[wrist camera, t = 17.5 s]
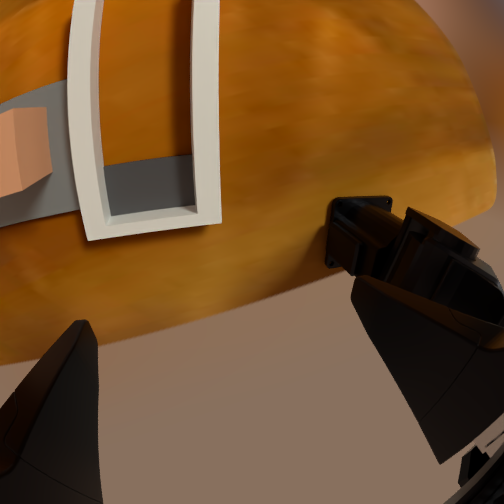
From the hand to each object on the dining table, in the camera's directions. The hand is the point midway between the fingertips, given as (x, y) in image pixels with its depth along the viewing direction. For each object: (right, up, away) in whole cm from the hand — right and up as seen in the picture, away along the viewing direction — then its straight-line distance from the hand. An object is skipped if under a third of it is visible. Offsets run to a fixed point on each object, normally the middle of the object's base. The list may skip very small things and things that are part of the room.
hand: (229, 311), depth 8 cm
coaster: (-15, +8, +5) cm, 18 cm away
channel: (-6, +12, +6) cm, 14 cm away
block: (-15, +9, +4) cm, 17 cm away
